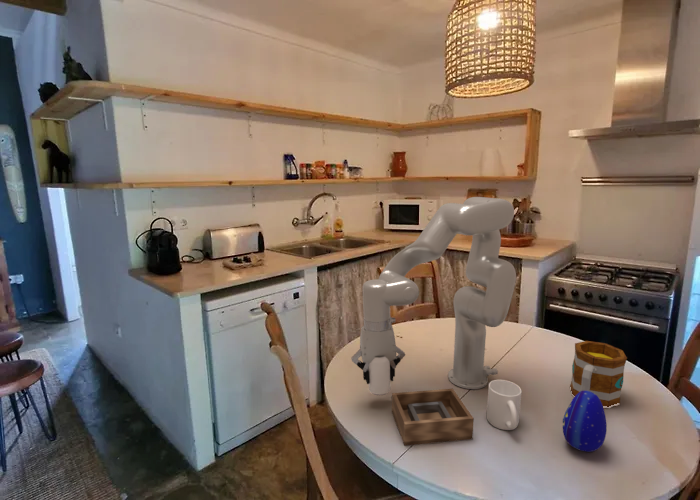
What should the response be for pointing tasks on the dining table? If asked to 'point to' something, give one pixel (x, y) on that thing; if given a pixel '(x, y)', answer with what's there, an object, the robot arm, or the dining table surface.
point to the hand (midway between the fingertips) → (379, 379)
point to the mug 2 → (598, 371)
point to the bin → (431, 416)
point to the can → (379, 376)
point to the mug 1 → (503, 404)
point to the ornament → (585, 422)
